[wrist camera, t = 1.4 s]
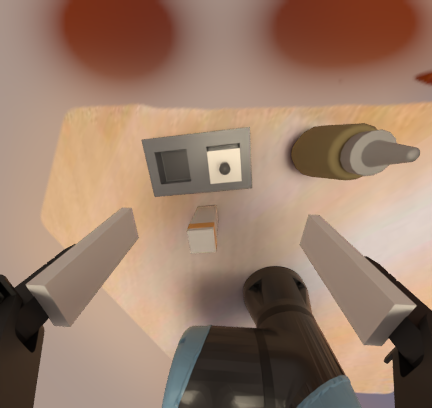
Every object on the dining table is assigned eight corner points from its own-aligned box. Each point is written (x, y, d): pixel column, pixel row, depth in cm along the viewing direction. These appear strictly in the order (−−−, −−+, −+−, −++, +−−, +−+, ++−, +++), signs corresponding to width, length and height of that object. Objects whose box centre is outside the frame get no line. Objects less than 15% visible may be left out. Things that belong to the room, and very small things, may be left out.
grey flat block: (248, 183, 33) (251, 188, 29) (162, 191, 34) (154, 196, 30) (246, 129, 30) (249, 127, 26) (151, 140, 31) (141, 139, 27)
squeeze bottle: (288, 178, 32) (361, 211, 15) (281, 137, 30) (357, 120, 13) (331, 166, 31) (462, 186, 14) (326, 121, 29) (477, 81, 12)
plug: (218, 222, 36) (216, 252, 25) (200, 223, 36) (190, 253, 26) (216, 205, 35) (213, 228, 24) (197, 206, 35) (186, 230, 25)
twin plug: (235, 170, 31) (244, 185, 18) (214, 172, 31) (208, 189, 18) (234, 148, 30) (242, 147, 17) (212, 151, 30) (204, 151, 17)
